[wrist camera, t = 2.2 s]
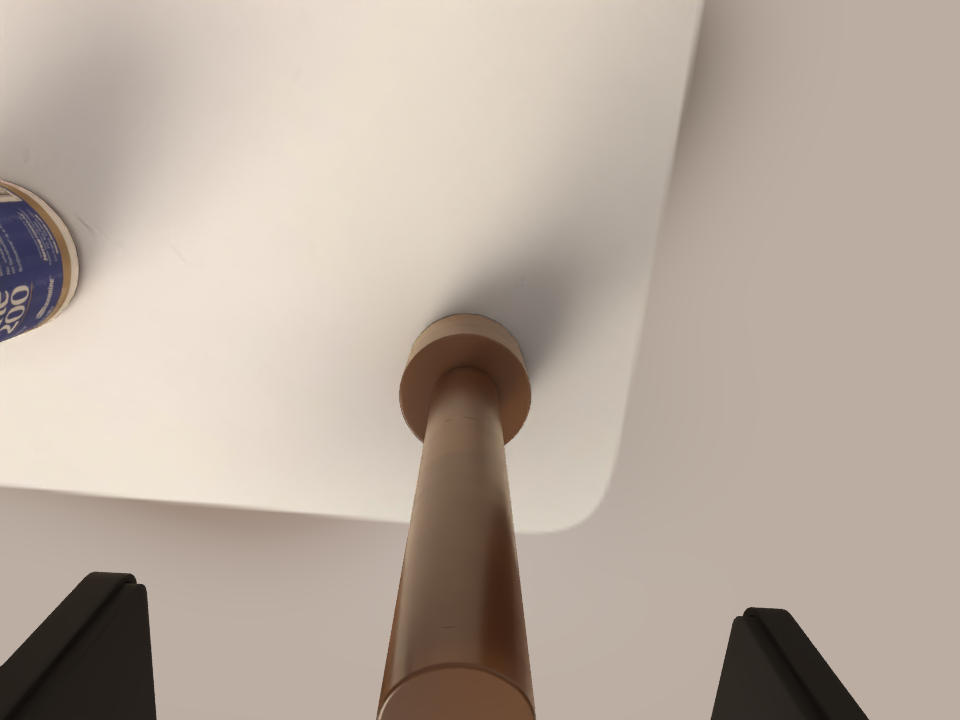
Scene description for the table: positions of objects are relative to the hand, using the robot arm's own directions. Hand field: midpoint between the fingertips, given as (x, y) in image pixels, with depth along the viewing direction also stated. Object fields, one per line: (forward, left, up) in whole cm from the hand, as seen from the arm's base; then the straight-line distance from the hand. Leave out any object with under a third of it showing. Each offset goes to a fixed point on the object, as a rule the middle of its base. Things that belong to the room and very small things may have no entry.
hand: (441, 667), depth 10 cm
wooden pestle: (0, 0, -15) cm, 15 cm away
